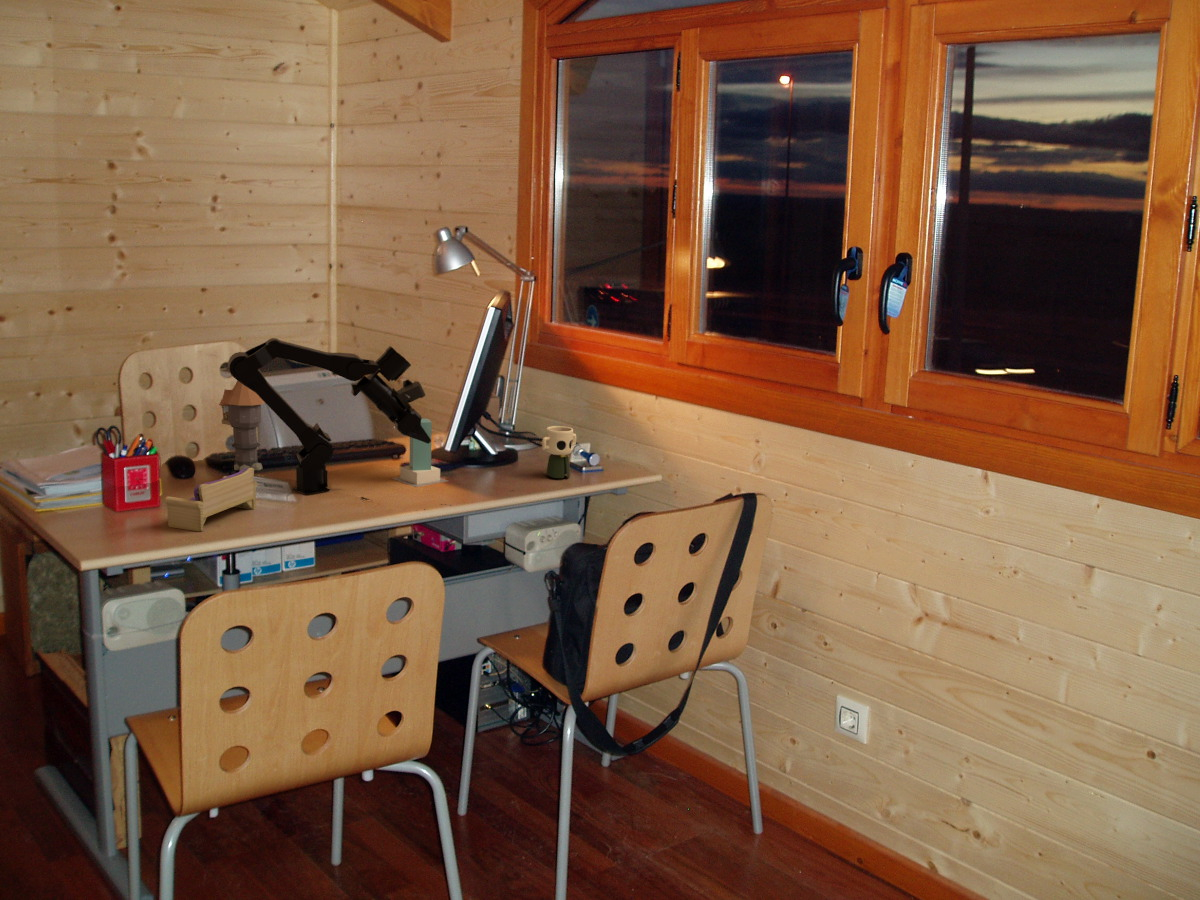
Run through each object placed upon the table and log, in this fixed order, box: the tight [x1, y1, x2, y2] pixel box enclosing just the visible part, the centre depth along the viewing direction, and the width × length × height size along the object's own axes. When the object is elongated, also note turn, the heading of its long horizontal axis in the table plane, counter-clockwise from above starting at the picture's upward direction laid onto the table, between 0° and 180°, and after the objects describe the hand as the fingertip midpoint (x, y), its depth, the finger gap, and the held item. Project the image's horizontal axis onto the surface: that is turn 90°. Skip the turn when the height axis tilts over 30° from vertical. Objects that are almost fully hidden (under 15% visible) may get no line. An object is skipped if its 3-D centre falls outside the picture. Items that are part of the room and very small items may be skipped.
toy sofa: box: [164, 468, 258, 532], centre depth 246 cm, size 21×9×10 cm, turn 162°
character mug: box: [541, 425, 577, 479], centre depth 293 cm, size 11×7×13 cm, turn 130°
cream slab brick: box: [399, 465, 441, 485], centre depth 280 cm, size 7×7×3 cm
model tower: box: [218, 380, 266, 472], centre depth 287 cm, size 10×11×30 cm
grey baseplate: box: [391, 476, 448, 488], centre depth 281 cm, size 10×10×2 cm
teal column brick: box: [409, 418, 433, 471], centre depth 278 cm, size 4×4×12 cm
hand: (426, 438), depth 279 cm, fingers open, 9 cm apart
